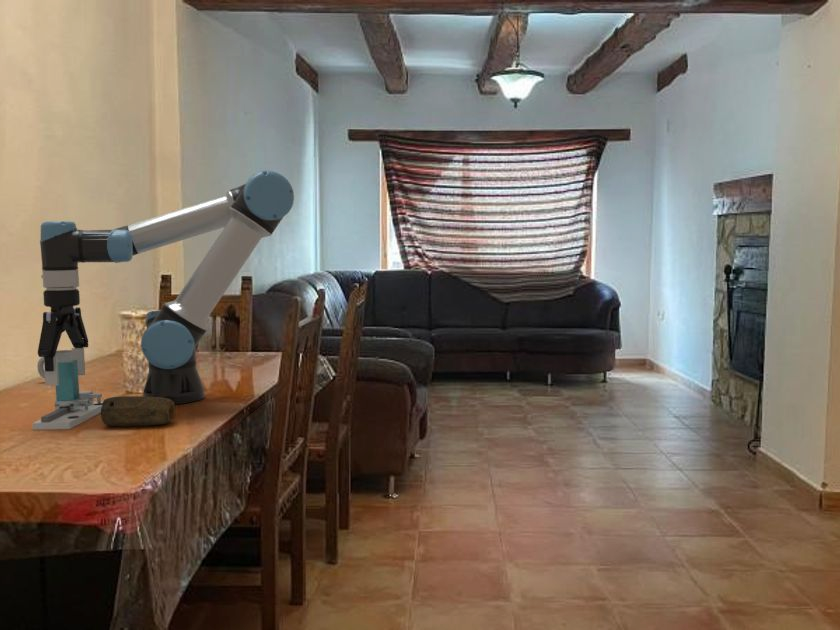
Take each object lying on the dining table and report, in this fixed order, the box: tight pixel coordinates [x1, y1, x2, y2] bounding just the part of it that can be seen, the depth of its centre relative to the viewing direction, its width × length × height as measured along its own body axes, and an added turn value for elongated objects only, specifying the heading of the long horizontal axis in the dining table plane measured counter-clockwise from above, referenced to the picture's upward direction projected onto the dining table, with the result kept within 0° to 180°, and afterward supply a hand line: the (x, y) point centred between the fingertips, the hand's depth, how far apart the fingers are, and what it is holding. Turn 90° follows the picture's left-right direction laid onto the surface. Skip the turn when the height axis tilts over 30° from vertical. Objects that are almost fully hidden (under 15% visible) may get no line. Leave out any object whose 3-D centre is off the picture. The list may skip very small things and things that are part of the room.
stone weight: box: [100, 395, 176, 428], centre depth 171 cm, size 15×7×7 cm, turn 98°
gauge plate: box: [31, 390, 103, 431], centre depth 179 cm, size 8×22×4 cm, turn 0°
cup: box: [37, 349, 72, 379], centre depth 228 cm, size 7×10×9 cm
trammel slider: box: [54, 360, 89, 411], centre depth 179 cm, size 7×4×11 cm, turn 90°
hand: (66, 380), depth 179 cm, fingers open, 13 cm apart
